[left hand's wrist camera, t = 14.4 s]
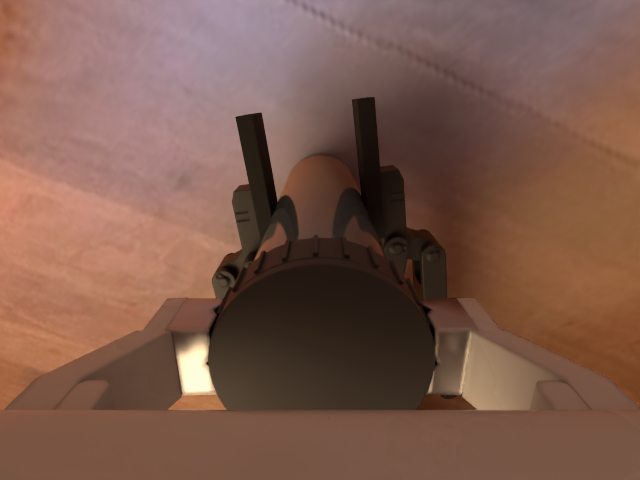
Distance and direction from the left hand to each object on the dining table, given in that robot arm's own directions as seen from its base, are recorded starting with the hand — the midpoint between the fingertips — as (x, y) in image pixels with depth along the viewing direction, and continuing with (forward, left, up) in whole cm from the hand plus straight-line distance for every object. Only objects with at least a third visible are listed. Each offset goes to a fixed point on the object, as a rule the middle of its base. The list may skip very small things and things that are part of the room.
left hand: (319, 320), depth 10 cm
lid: (0, 0, +2) cm, 2 cm away
